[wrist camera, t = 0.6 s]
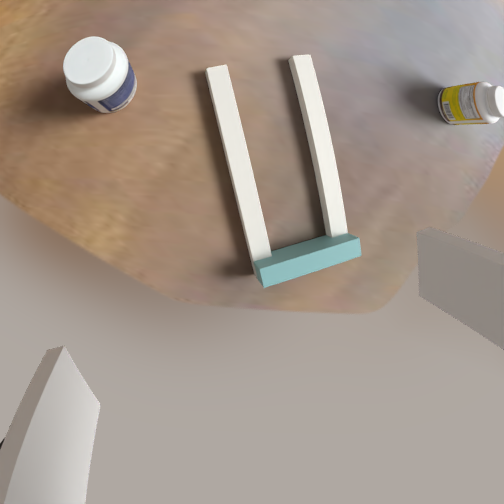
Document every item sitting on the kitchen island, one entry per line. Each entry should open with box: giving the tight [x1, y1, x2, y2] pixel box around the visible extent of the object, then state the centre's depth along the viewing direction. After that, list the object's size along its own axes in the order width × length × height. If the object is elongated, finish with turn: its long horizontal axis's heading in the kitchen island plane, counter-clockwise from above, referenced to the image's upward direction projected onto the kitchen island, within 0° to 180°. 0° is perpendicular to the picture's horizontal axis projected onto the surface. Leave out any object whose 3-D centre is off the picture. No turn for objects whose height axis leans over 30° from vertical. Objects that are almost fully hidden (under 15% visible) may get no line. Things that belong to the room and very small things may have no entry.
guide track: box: [205, 55, 361, 288], centre depth 31 cm, size 22×11×4 cm, turn 13°
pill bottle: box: [63, 37, 137, 113], centre depth 22 cm, size 5×5×10 cm
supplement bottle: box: [438, 82, 504, 125], centre depth 31 cm, size 6×6×10 cm
